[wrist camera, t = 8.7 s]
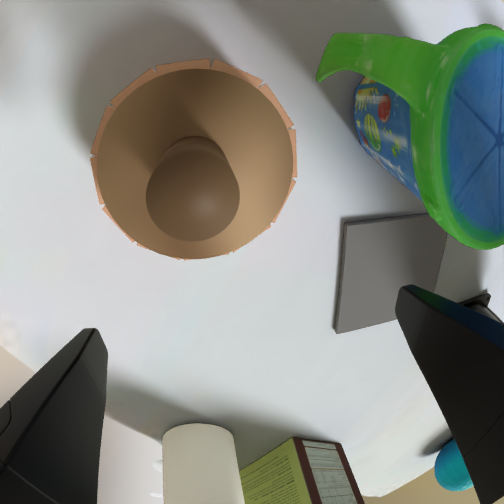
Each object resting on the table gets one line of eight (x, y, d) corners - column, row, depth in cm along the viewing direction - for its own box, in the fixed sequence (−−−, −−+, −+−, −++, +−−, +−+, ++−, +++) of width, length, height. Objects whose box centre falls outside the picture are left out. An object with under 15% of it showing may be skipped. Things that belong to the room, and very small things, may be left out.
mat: (447, 211, 23) (450, 213, 22) (425, 307, 27) (428, 310, 27) (344, 223, 21) (347, 225, 21) (334, 330, 26) (336, 334, 26)
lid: (280, 65, 12) (325, 49, 8) (288, 235, 16) (324, 293, 12) (92, 90, 11) (39, 90, 7) (125, 258, 15) (102, 324, 11)
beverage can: (164, 415, 29) (167, 520, 18) (240, 420, 31) (259, 519, 20) (160, 448, 32) (163, 534, 21) (224, 452, 34) (238, 534, 24)
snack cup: (260, 125, 18) (325, 156, 9) (332, -10, 14) (434, -65, 5) (429, 221, 23) (516, 288, 14) (480, 116, 19) (578, 147, 10)
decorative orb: (475, 428, 57) (499, 467, 44) (430, 461, 59) (450, 501, 46) (473, 416, 50) (502, 462, 37) (420, 454, 53) (444, 503, 39)
